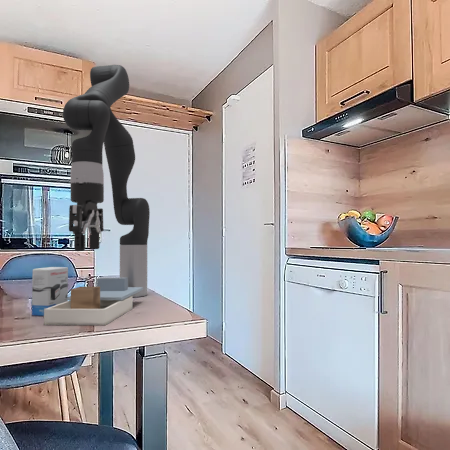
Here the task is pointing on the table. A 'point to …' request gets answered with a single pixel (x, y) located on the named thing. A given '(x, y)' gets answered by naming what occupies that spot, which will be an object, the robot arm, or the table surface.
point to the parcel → (85, 298)
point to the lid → (115, 288)
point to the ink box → (48, 288)
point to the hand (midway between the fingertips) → (87, 249)
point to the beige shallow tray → (87, 313)
